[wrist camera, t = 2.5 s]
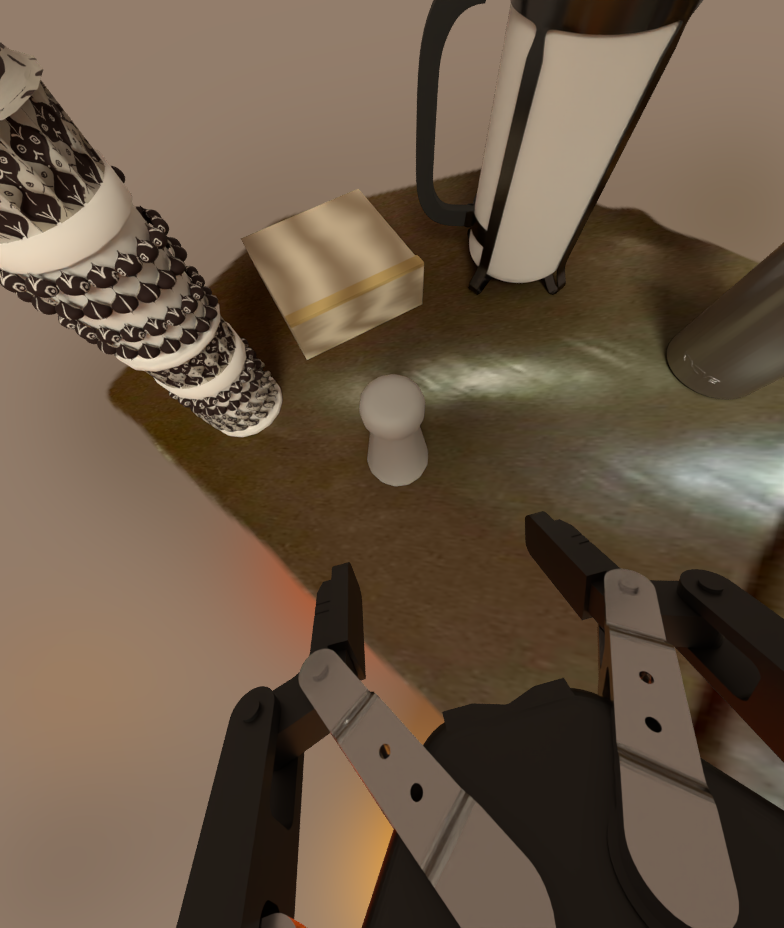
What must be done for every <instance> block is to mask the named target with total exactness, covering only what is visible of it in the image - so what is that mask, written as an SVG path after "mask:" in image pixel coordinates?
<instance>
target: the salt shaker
mask: <svg viewBox="0 0 784 928" xmlns="http://www.w3.org/2000/svg"><path fill="white" fill-rule="evenodd" d="M359 412H360V415H361V417H362V420H363V422H364V425H365V427H366V429H368V430H369V431H370V439H369V448H368V459H367V461H368V464H369V467H370V470H371V472H372V473H373V474H374V475H375V476H376V477H377V478H378V479H379V480H380V481H382V482H383V483H386V484H389V485H392V486H401V485H408V484H410V483H412V482H413V481H415V480H416V479H418V478H419V477H420V476H421V474H422V473H423V471H424V469H425V467H426V466H427V462H428V449H427V446H426V443H425V440H424V437H423V434H422V431H421V428H420V424H421V423H422V421H423V419H424V412H425V399H424V396H423V394H422V392H421V390H420V388H419V386H418V385H417V384H416V383H415V382H414V381H412V380H411V379H410V378H408V377H406V376H401V375H397V374H391V375H384V376H380V377H378V378H376V379H375V380H373V381H371V382H370V383H368V385H367V386H366V388H365V389H364V391H363V392H362V393H361V399H360V411H359Z"/></svg>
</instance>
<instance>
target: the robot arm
mask: <svg viewBox="0 0 784 928" xmlns="http://www.w3.org/2000/svg"><path fill="white" fill-rule="evenodd" d="M667 360H668V363H669V366H670V368H671V370H672V371H673V373H674V375H675V376H676V377H677V378H678V379H679V380H680V381H681V382H682V383H683V384H685V385H686V386H687V387H689V388H690V389H692V390H694V391H696V392H697V393H700V394H703V395H705V396H708V397H712V398H717V399H737V398H741V397H744V396H747V395H749V394H751V393H753V392H755V391H757V390H759V389H761V388H763V387H765V386H767V385H769V384H771V383H773V382H775V381H777V380H778V379H780V378H782V377H784V243H782V244H781V245H780V246H779V247H778V248H777V249H775V250H774V251H773V252H772V253H771V254H770V255H769V256H767V257H766V258H765V259H764V260H763V261H762V262H760V263H759V264H758V265H757V266H756V267H755V268H753V269H752V270H751V271H750V272H749V273H748V274H747V275H745V276H744V277H743V278H742V279H741V280H740V281H738V282H737V283H736V284H735V285H734V286H733V287H732V288H730V289H729V290H728V291H727V292H726V293H725V294H723V295H722V296H721V297H720V298H719V299H718V300H716V301H715V302H714V303H713V304H712V305H711V306H709V307H708V308H707V309H706V310H705V311H704V312H702V313H701V314H700V315H699V316H698V317H697V318H696V319H694V320H693V321H692V322H691V323H690V324H689V325H687V326H686V327H685V328H684V329H683V330H682V331H681V332H679V333H678V334H677V335H676V336H675V337H674V338H673V339H672V340H671V342H670V343H669V345H668V348H667ZM525 540H526V546H527V549H528V551H529V553H530V555H531V556H532V558H533V559H534V560H535V561H536V563H537V564H538V565H539V566H540V568H541V569H542V570H543V571H544V573H545V574H546V575H547V576H548V578H549V579H550V580H551V581H552V583H553V584H554V585H555V587H556V588H557V589H558V590H559V592H560V593H561V594H562V595H563V597H564V598H565V599H566V600H567V602H568V603H569V604H570V605H571V607H572V608H573V609H574V610H575V612H576V613H577V614H578V616H579V617H580V618H581V619H582V620H585V619H588V618H592V617H593V618H594V619H595V620H596V622H597V623H598V627H597V634H598V670H599V680H598V695H597V694H595V693H592V692H589V691H585V690H581V689H575V688H570V687H569V686H568V684H567V682H566V681H565V679H564V678H562V679H558V680H554V681H551V682H547V683H544V684H540V685H537V686H534V687H532V688H531V689H529V690H528V691H527V692H525V693H524V694H522V695H521V696H519V697H518V698H517V699H515V700H514V701H512V702H511V703H509V704H506V705H500V704H469V705H465V706H462V707H458V708H455V709H451V710H448V711H444V712H442V713H443V717H444V721H445V722H444V723H443V724H441V725H440V726H439V727H438V728H437V729H436V730H435V731H433V733H432V734H431V735H430V736H429V737H428V739H427V740H426V742H425V743H424V745H422V744H421V743H420V742H419V741H418V740H417V739H416V737H414V735H412V733H411V732H410V731H409V730H408V729H407V728H406V727H405V725H404V724H403V723H402V722H401V721H400V720H399V719H398V718H397V716H396V715H395V714H394V713H393V712H392V711H391V710H390V709H389V707H388V706H387V705H386V704H385V703H384V702H383V701H382V700H381V699H380V697H379V696H378V695H376V694H375V693H374V692H370V691H369V690H368V689H367V688H366V687H365V686H364V685H363V683H362V682H361V681H360V680H364V679H365V678H366V675H365V654H364V633H363V611H362V596H361V591H360V587H359V584H358V582H357V579H356V576H355V574H354V571H353V569H352V566H351V564H350V562H348V563H344V564H341V565H337V566H333V568H332V578H331V580H329V581H325V582H323V583H322V585H321V587H320V589H319V591H318V593H317V599H316V607H315V616H314V625H313V633H312V641H311V650H310V655H309V657H308V658H307V659H306V660H305V662H304V663H303V665H302V667H301V669H300V672H299V673H298V674H297V675H296V676H295V677H293V678H292V679H291V680H289V681H287V682H286V683H284V684H283V685H281V686H279V687H278V688H276V689H275V690H273V691H272V690H271V689H270V688H268V687H264V686H262V687H257V688H254V689H252V690H251V691H249V692H248V693H247V694H245V695H244V696H243V697H242V698H241V699H240V701H239V702H238V703H237V705H236V706H235V708H234V710H233V712H232V714H231V717H230V720H229V724H228V728H227V732H226V736H225V740H224V744H223V747H222V751H221V755H220V759H219V763H218V767H217V771H216V775H215V779H214V783H213V786H212V790H211V794H210V798H209V802H208V806H207V810H206V814H205V818H204V822H203V825H202V829H201V833H200V837H199V841H198V845H197V849H196V852H195V856H194V860H193V864H192V868H191V872H190V876H189V880H188V884H187V888H186V891H185V895H184V899H183V903H182V907H181V911H180V915H179V919H178V922H177V926H176V928H306V926H304V925H303V924H301V923H300V922H298V921H296V920H294V914H295V897H296V879H297V864H298V847H299V829H300V813H301V797H302V781H303V764H304V752H305V751H306V750H307V749H309V748H310V747H312V746H313V745H314V744H316V743H317V742H318V741H320V740H321V739H322V738H324V737H325V736H326V735H328V734H329V733H331V735H332V736H333V738H334V739H335V741H336V742H337V744H338V745H339V747H340V748H341V750H342V751H343V753H344V754H345V756H346V757H347V759H348V761H349V762H350V763H351V765H352V766H353V768H354V770H355V771H356V772H357V774H358V776H359V777H360V779H361V780H362V782H363V783H364V785H365V786H366V788H367V789H368V791H369V792H370V794H371V795H372V797H373V798H374V800H375V801H376V803H377V804H378V806H379V807H380V809H381V810H382V812H383V814H384V815H385V817H386V818H387V819H388V821H389V823H390V824H391V826H392V827H393V828H394V830H393V833H392V836H391V839H390V843H389V846H388V848H387V852H386V855H385V858H384V861H383V864H382V867H381V870H380V873H379V876H378V880H377V882H376V885H375V888H374V891H373V894H372V898H371V901H370V904H369V907H368V910H367V913H366V916H365V919H364V922H363V925H362V928H784V810H782V809H780V808H779V807H777V806H776V805H774V804H772V803H771V802H769V801H768V800H766V799H765V798H763V797H761V796H760V795H758V794H757V793H755V792H754V791H752V790H750V789H749V788H747V787H746V786H744V785H743V784H741V783H739V782H738V781H736V780H735V779H733V778H732V777H730V776H728V775H727V774H725V773H724V772H722V771H721V770H719V769H717V768H716V767H714V766H713V765H711V764H710V763H708V762H706V761H705V760H703V759H702V758H700V755H699V751H698V747H697V742H696V738H695V734H694V729H693V725H692V721H691V716H690V712H689V707H688V703H687V699H686V694H685V690H684V686H683V681H682V677H681V673H680V668H679V664H678V660H677V655H676V651H675V648H676V649H677V650H678V651H679V652H680V653H681V654H682V655H683V656H684V657H685V658H686V659H687V660H688V661H689V662H690V664H691V665H692V666H693V667H694V668H695V669H696V670H697V671H698V672H699V673H700V674H701V675H702V676H703V677H704V678H705V679H706V681H707V682H708V683H709V684H710V685H711V686H712V687H713V688H714V689H715V690H716V691H717V692H718V693H719V694H720V695H721V696H722V698H723V699H724V700H725V701H726V702H727V703H728V704H729V705H730V706H731V707H732V708H733V709H734V710H735V711H736V712H737V713H738V715H739V716H740V717H741V718H742V719H743V720H744V721H745V722H746V723H747V724H748V725H749V726H750V727H751V728H752V729H753V730H754V732H755V733H756V734H757V735H758V736H759V737H760V738H761V739H762V740H763V741H764V742H765V743H766V744H767V745H768V746H769V747H770V749H771V750H772V751H773V752H774V753H775V754H776V755H777V756H778V757H779V758H780V759H781V760H782V761H783V762H784V619H783V618H782V617H780V616H779V615H777V614H776V613H775V612H773V611H772V610H770V609H769V608H768V607H766V606H765V605H763V604H762V603H761V602H759V601H758V600H756V599H755V598H754V597H752V596H751V595H749V594H748V593H747V592H745V591H744V590H743V589H741V588H740V587H738V586H737V585H736V584H734V583H733V582H731V581H730V580H728V579H727V578H725V577H723V576H721V575H718V574H716V573H713V572H710V571H705V570H698V569H692V570H687V571H685V572H683V573H682V574H681V576H680V579H679V581H653V580H648V579H647V578H646V577H644V576H643V575H641V574H639V573H637V572H634V571H631V570H627V569H621V568H619V567H618V566H617V565H616V564H615V563H614V562H613V561H611V560H610V559H609V558H608V557H607V556H606V555H605V554H604V553H602V552H601V551H600V550H599V549H598V548H597V547H596V546H595V545H594V544H592V543H591V542H589V540H588V539H587V538H586V537H585V536H583V535H582V534H581V533H580V532H579V531H578V530H577V529H576V528H574V527H573V526H572V525H570V524H568V523H566V522H564V521H562V520H560V519H559V520H555V521H554V520H553V519H552V518H551V517H550V516H549V515H548V514H547V513H546V512H544V511H542V512H538V513H534V514H531V515H527V516H526V517H525ZM674 647H675V648H674Z"/></svg>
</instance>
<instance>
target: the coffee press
mask: <svg viewBox="0 0 784 928" xmlns="http://www.w3.org/2000/svg"><path fill="white" fill-rule="evenodd" d="M485 1H486V0H434V1H433V3H432V5H431V8H430V11H429V14H428V17H427V20H426V24H425V28H424V32H423V37H422V42H421V49H420V57H419V70H418V88H417V130H416V183H417V192H418V198H419V201H420V204H421V207H422V208H423V210H424V212H425V213H426V215H427V216H428V217H429V218H430V219H432V220H433V221H435V222H437V223H440V224H443V225H449V226H465V227H471V228H470V229H469V230H468V233H467V234H468V238H469V249H470V253H471V256H472V258H473V260H474V262H475V263H476V265H477V266H478V268H477V270H476V272H475V274H474V276H473V278H472V280H471V282H470V284H469V289H470V290H471V291H473V292H474V293H476V294H477V295H478V294H480V293H481V292H482V291H483V289H484V288H485V286H486V285H487V283H488V282H489V281H490V279H491V278H492V277H494V278H496V279H499V280H502V281H506V282H513V283H525V282H532V281H536V280H539V279H542V278H543V279H544V281H545V285H546V288H547V291H548V293H549V294H552V295H554V294H556V293H557V292H558V291H560V290H561V289H562V288H563V287H564V286H565V284H566V280H565V265H566V262H567V260H568V258H569V255H570V253H571V251H572V249H573V248H574V246H575V244H576V242H577V240H578V238H579V236H580V234H581V232H582V230H583V228H584V226H585V224H586V222H587V220H588V218H589V216H590V214H591V212H592V210H593V209H594V207H595V205H596V203H597V201H598V199H599V197H600V195H601V193H602V191H603V189H604V187H605V185H606V183H607V181H608V179H609V177H610V175H611V173H612V171H613V169H614V168H615V166H616V164H617V162H618V160H619V158H620V156H621V154H622V152H623V150H624V148H625V146H626V144H627V142H628V140H629V138H630V136H631V134H632V132H633V130H634V128H635V127H636V125H637V123H638V121H639V119H640V117H641V115H642V113H643V111H644V109H645V107H646V105H647V103H648V101H649V99H650V97H651V95H652V93H653V91H654V90H655V88H656V86H657V84H658V82H659V80H660V78H661V76H662V74H663V72H664V70H665V68H666V66H667V64H668V62H669V60H670V58H671V56H672V54H673V52H674V50H675V49H676V46H677V44H678V42H679V39H680V37H681V35H682V32H683V30H684V28H685V26H686V24H687V22H688V20H689V19H690V17H691V15H692V14H693V13H694V11H695V10H696V9H697V8H698V7H699V5H700V4H701V3H702V1H703V0H511V5H510V11H509V16H508V22H507V28H506V33H505V39H504V45H503V50H502V56H501V62H500V67H499V73H498V78H497V84H496V89H495V95H494V101H493V107H492V112H491V118H490V123H489V129H488V135H487V140H486V146H485V151H484V157H483V163H482V168H481V174H480V179H479V185H478V191H477V194H476V196H475V198H474V201H473V203H471V204H467V205H452V204H446V203H444V202H442V201H441V200H440V199H439V198H438V196H437V194H436V192H435V190H434V186H433V163H434V162H433V161H434V145H435V127H436V110H437V93H438V78H439V67H440V60H441V55H442V51H443V47H444V44H445V41H446V39H447V36H448V34H449V31H450V30H451V27H452V26H453V24H454V22H455V21H456V19H457V18H458V17H459V16H460V14H462V13H463V12H464V11H465V10H466V9H468V8H470V7H471V6H474V5H477V4H483V3H485ZM556 270H557V287H556V285H555V283H554V279H553V275H552V273H553V272H554V271H556Z"/></svg>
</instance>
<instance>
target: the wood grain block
mask: <svg viewBox="0 0 784 928" xmlns="http://www.w3.org/2000/svg"><path fill="white" fill-rule="evenodd" d="M241 240H242V242H243V244H244V246H245V248H246V250H247V251H248V253H249V255H250V257H251V259H252V261H253V263H254V265H255V267H256V269H257V271H258V273H259V275H260V276H261V278H262V280H263V282H264V284H265V285H266V287H267V289H268V291H269V293H270V294H271V296H272V298H273V300H274V302H275V303H276V305H277V307H278V309H279V311H280V312H281V314H282V316H283V318H284V320H285V321H286V323H287V325H288V327H289V328H290V330H291V332H292V334H293V336H294V337H295V339H296V341H297V343H298V345H299V346H300V348H301V350H302V352H303V354H304V355H305V357H306V359H307V360H308V359H310V358H312V357H314V356H316V355H318V354H320V353H322V352H325V351H327V350H329V349H331V348H333V347H335V346H337V345H339V344H341V343H343V342H345V341H347V340H349V339H351V338H353V337H355V336H358V335H360V334H362V333H364V332H366V331H368V330H370V329H372V328H374V327H376V326H378V325H380V324H382V323H384V322H386V321H388V320H390V319H393V318H395V317H397V316H399V315H401V314H403V313H405V312H407V311H409V310H411V309H413V308H415V307H417V306H419V305H421V304H422V297H423V274H424V262H423V261H422V260H421V258H420V257H419V256H418V255H416V256H415V255H414V254H413V253H412V251H411V250H410V249H409V248H408V247H407V246H406V244H405V243H404V242H403V241H402V240H401V239H400V237H399V236H398V235H397V234H396V233H395V231H394V230H393V229H392V228H391V227H390V226H389V224H388V223H387V222H386V221H385V220H384V218H383V217H382V216H381V215H380V214H379V213H378V211H377V210H376V209H375V208H374V207H373V205H372V204H371V203H370V202H369V201H368V200H367V198H366V197H365V196H364V195H363V194H362V193H361V191H360V190H359V189H356V190H354V191H352V192H349V193H347V194H345V195H342V196H340V197H338V198H335V199H333V200H331V201H328V202H326V203H324V204H321V205H319V206H317V207H314V208H312V209H309V210H307V211H305V212H302V213H300V214H298V215H295V216H293V217H291V218H288V219H286V220H284V221H281V222H279V223H277V224H274V225H272V226H270V227H267V228H265V229H263V230H260V231H258V232H256V233H253V234H251V235H248V236H246V237H244V238H241Z"/></svg>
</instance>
